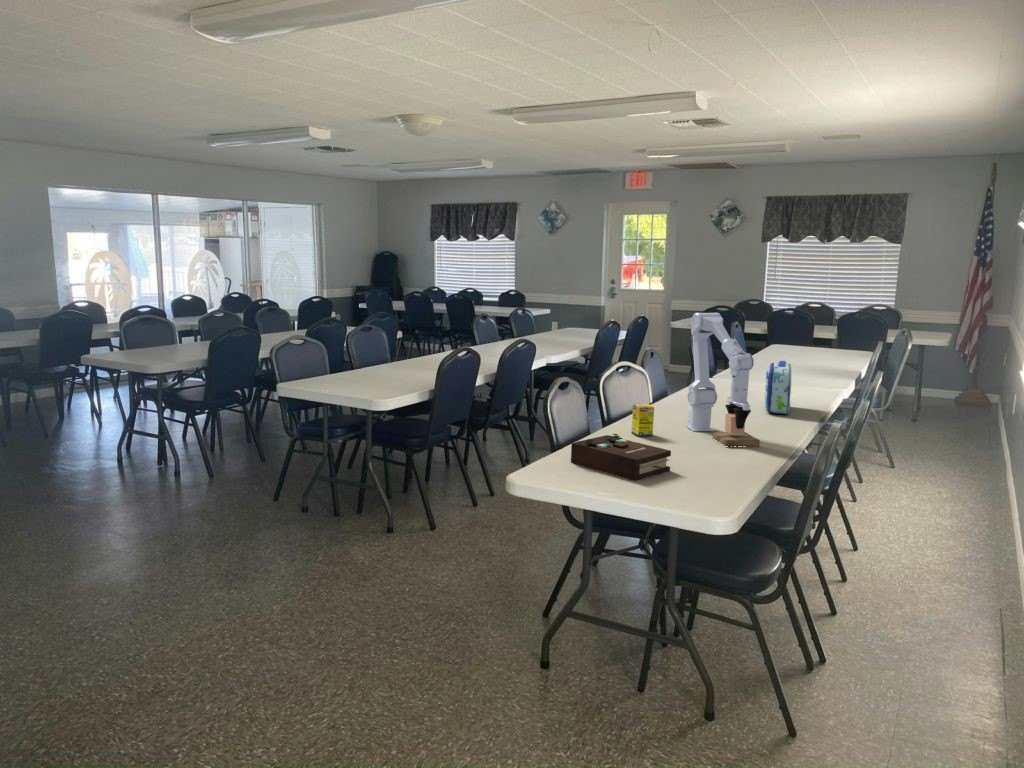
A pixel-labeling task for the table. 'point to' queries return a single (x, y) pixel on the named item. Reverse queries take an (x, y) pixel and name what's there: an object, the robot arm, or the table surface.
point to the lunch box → (778, 388)
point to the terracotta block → (732, 424)
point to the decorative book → (620, 457)
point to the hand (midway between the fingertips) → (736, 426)
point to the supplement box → (642, 420)
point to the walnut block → (736, 439)
